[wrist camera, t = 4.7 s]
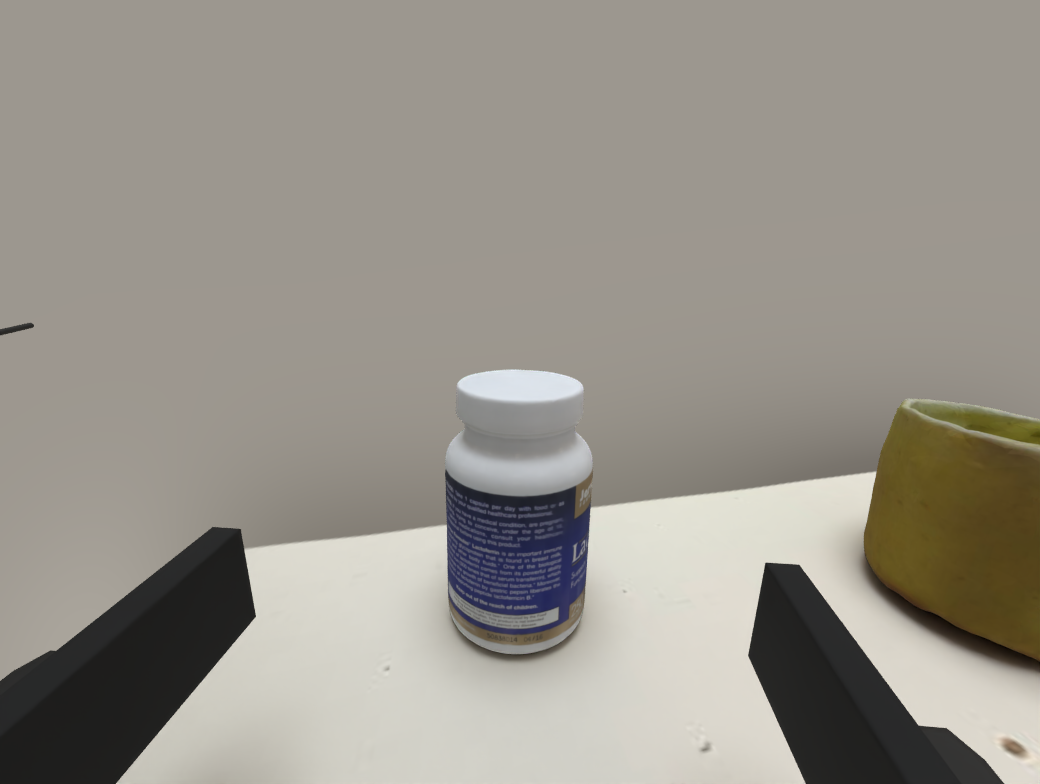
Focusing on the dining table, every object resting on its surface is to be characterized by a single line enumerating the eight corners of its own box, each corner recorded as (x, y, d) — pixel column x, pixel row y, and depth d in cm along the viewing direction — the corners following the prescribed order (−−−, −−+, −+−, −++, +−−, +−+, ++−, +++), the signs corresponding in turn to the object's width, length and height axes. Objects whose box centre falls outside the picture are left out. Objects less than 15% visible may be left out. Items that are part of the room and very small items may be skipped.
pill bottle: (603, 650, 18) (623, 402, 16) (452, 672, 17) (443, 410, 14) (563, 558, 24) (572, 361, 21) (446, 571, 23) (438, 365, 20)
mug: (1015, 688, 15) (1066, 369, 15) (799, 571, 25) (832, 383, 25) (1364, 750, 15) (1404, 444, 16) (1015, 612, 26) (1045, 428, 26)
